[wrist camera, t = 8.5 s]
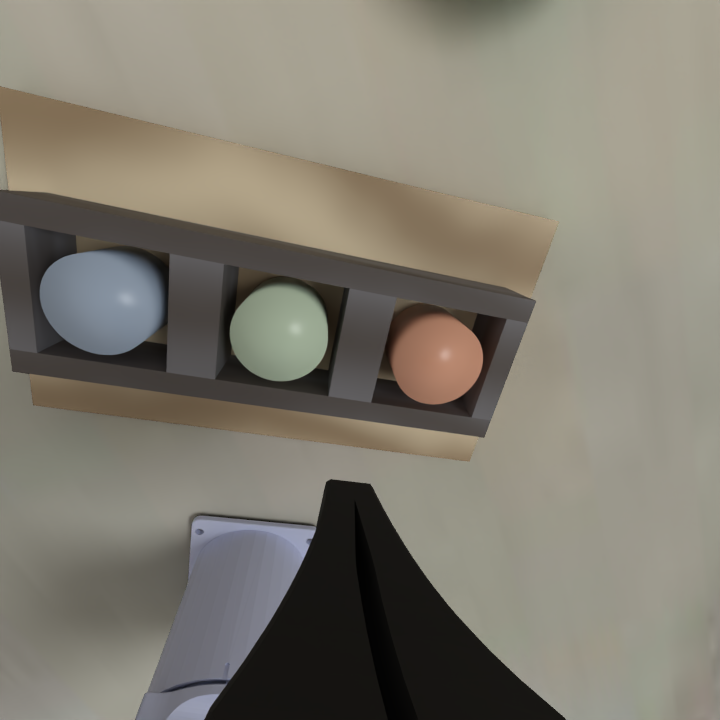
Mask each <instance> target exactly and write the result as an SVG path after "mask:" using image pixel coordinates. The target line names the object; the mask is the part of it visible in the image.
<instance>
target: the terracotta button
mask: <svg viewBox="0 0 720 720" xmlns="http://www.w3.org/2000/svg"><path fill="white" fill-rule="evenodd" d="M385 353H386V356H387V358H388V361H389V363H390V366H391V368H392V371H393V373H394V376H395V378H396V380H397V383H398V385H399V387H400V388H401V389H402V391H403V392H404V393H405V394H406V395H407V396H409V397H410V398H412V399H413V400H415V401H418V402H421V403H425V404H443V403H447V402H450V401H453V400H455V399H457V398H459V397H460V396H462V395H463V394H465V393H466V392H467V391H468V390H469V389H470V388H471V387H472V386H473V384H474V383H475V382H476V380H477V378H478V377H479V374H480V372H481V369H482V364H483V352H482V348H481V344H480V342H479V340H478V339H477V337H476V336H475V334H474V333H473V332H472V331H471V330H469V329H468V328H467V327H466V326H465V325H464V324H462V323H461V322H460V321H459V320H458V319H456V318H455V317H454V316H453V315H452V314H451V313H449V312H448V311H447V310H445V309H444V308H441V307H439V306H436V305H431V304H421V305H416V306H413V307H410V308H408V309H406V310H404V311H403V312H401V313H400V314H399V315H398V316H397V317H395V319H394V320H393V321H392V322H391V324H390V328H389V332H388V336H387V340H386V344H385Z"/></svg>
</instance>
